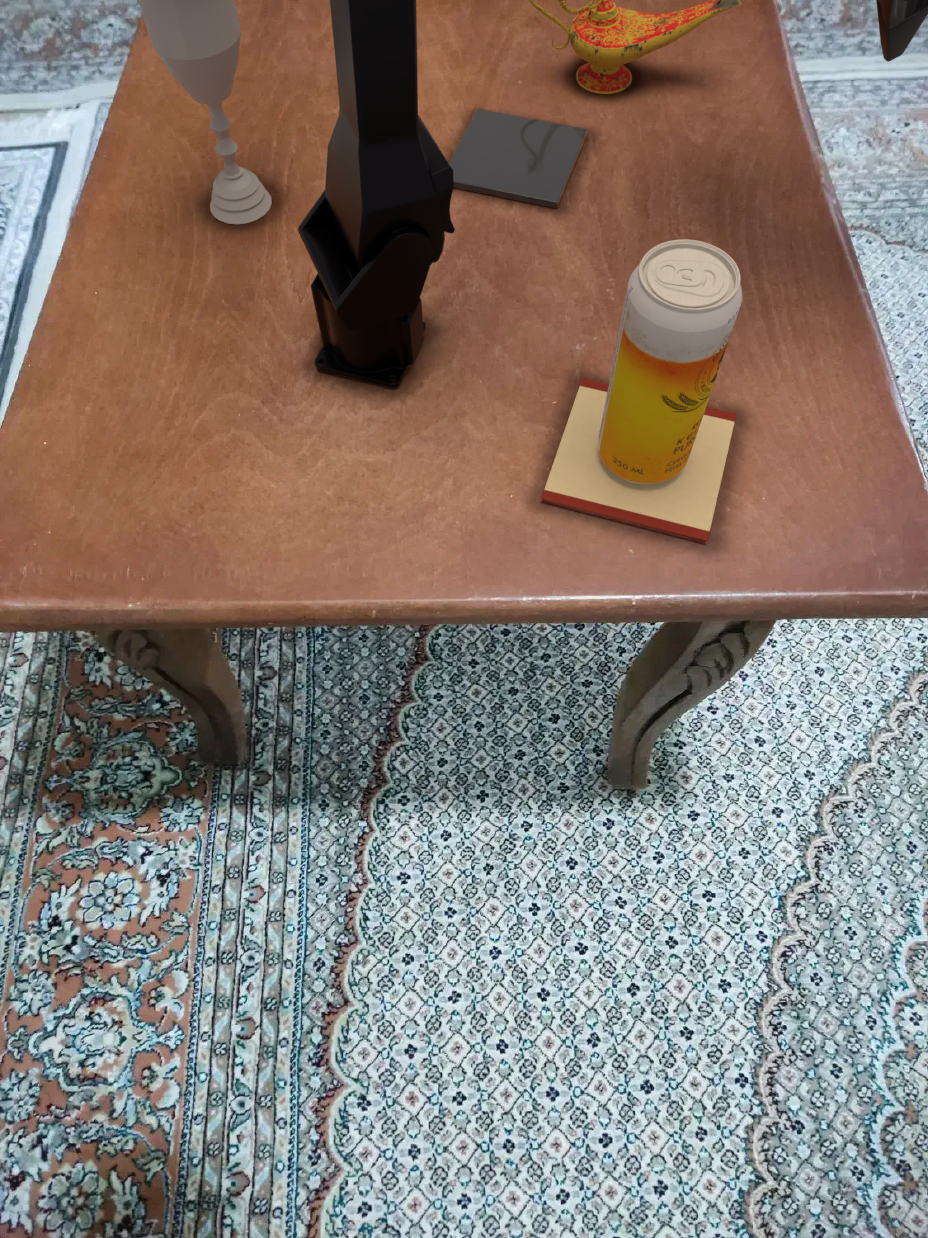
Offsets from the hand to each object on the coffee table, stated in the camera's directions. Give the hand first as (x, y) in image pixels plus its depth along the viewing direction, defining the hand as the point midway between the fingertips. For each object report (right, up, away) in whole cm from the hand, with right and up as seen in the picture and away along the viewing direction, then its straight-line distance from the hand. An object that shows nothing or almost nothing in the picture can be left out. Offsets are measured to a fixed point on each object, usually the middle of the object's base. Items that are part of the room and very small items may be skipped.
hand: (851, 18), depth 57 cm
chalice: (-43, -5, +16) cm, 46 cm away
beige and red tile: (-13, -28, +3) cm, 31 cm away
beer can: (-13, -28, +3) cm, 31 cm away
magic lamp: (-11, +10, +23) cm, 28 cm away
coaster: (-21, 0, +18) cm, 27 cm away
